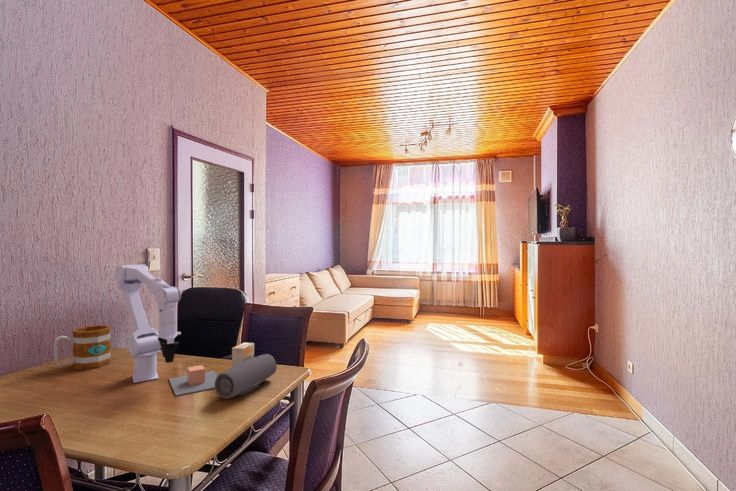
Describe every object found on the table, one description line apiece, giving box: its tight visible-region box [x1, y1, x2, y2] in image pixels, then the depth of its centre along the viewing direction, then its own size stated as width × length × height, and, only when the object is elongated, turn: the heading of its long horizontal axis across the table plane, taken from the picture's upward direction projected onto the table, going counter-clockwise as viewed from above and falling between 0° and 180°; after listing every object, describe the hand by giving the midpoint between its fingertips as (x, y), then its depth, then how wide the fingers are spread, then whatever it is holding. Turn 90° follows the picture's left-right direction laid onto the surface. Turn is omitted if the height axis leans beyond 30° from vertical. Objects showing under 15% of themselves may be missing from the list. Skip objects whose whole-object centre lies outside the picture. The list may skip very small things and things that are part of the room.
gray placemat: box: [168, 370, 219, 397], centre depth 136 cm, size 18×16×1 cm
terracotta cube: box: [187, 365, 206, 385], centre depth 136 cm, size 5×5×5 cm
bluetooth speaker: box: [214, 353, 278, 400], centre depth 131 cm, size 23×9×10 cm, turn 159°
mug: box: [52, 324, 112, 371], centre depth 154 cm, size 20×14×15 cm
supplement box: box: [231, 342, 255, 368], centre depth 140 cm, size 8×5×13 cm, turn 168°
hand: (167, 359), depth 134 cm, fingers open, 7 cm apart
